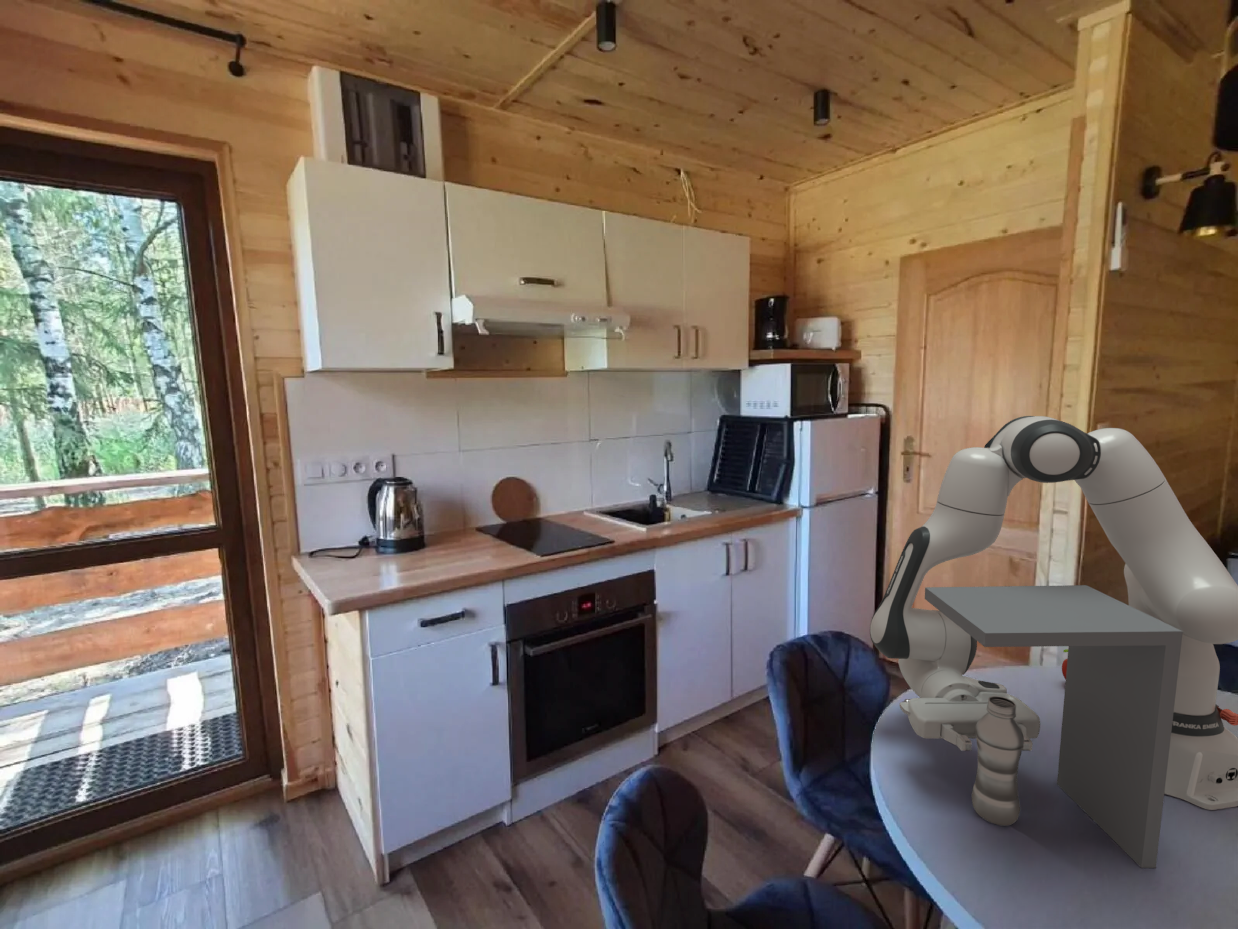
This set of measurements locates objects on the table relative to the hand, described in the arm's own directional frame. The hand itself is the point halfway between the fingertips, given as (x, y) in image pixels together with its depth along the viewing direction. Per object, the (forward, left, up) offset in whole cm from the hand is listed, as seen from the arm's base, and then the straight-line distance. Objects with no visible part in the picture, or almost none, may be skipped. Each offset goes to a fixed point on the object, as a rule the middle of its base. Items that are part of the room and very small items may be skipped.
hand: (997, 747), depth 96 cm
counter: (-4, +2, -12) cm, 13 cm away
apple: (-40, -38, -12) cm, 57 cm away
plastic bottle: (0, 0, -12) cm, 12 cm away
